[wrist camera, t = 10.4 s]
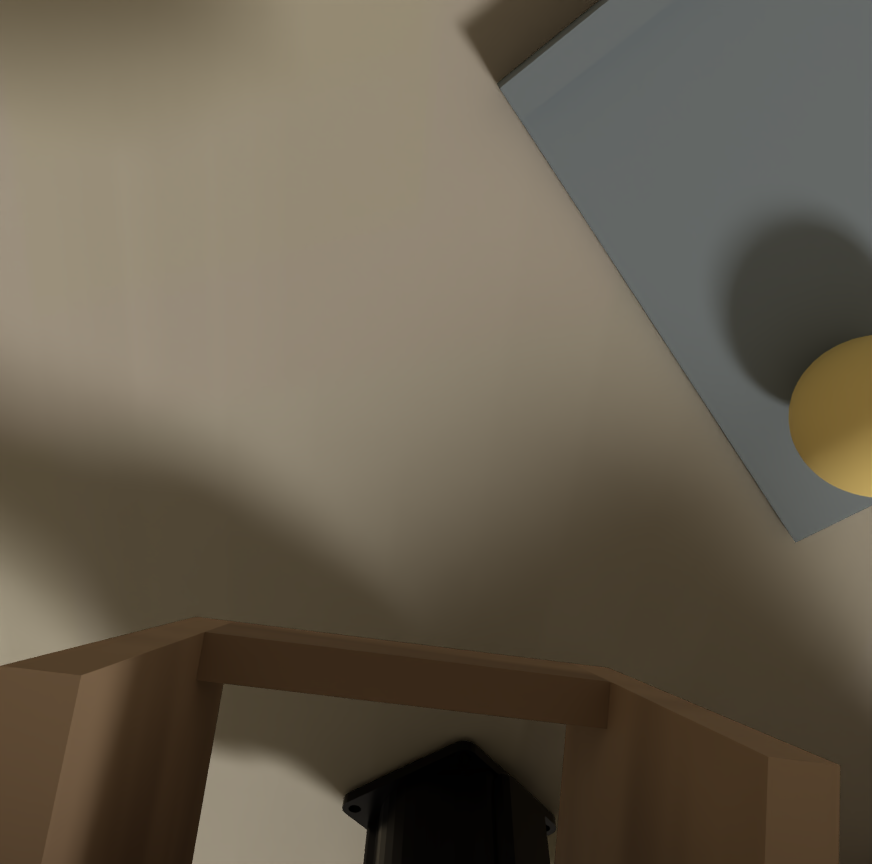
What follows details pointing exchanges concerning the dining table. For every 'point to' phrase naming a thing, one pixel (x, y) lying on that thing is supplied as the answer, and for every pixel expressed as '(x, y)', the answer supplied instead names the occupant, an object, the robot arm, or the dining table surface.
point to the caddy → (398, 684)
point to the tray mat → (725, 196)
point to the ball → (836, 416)
